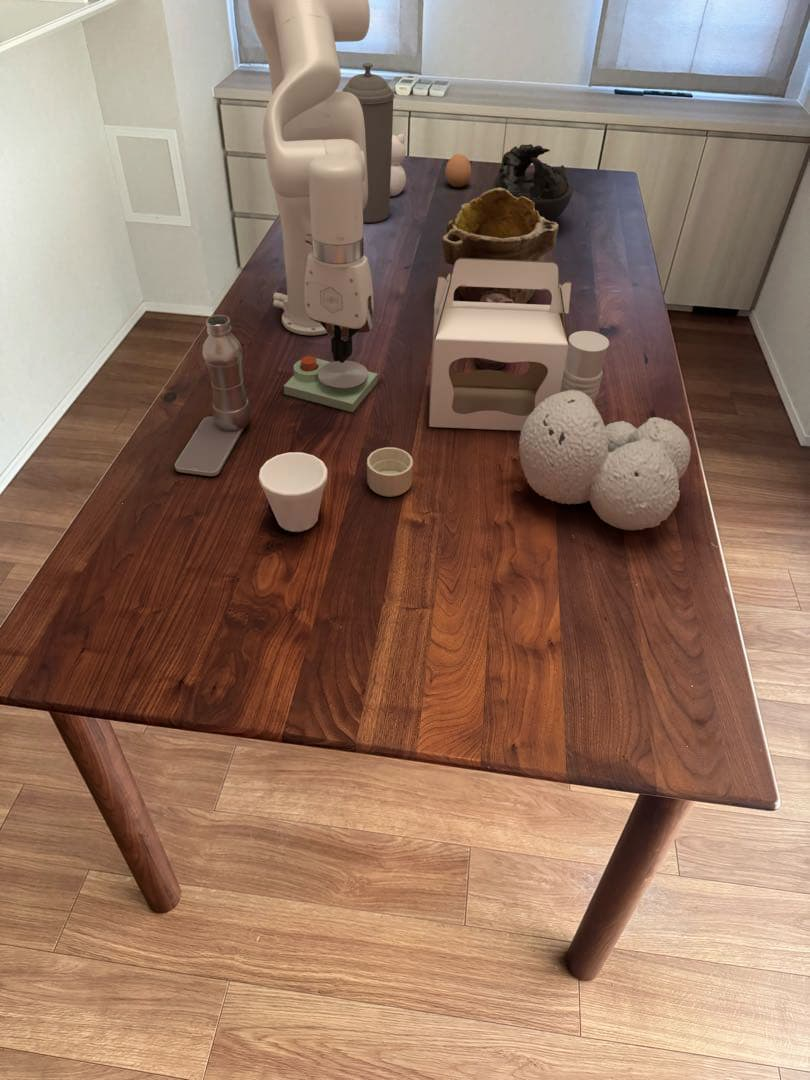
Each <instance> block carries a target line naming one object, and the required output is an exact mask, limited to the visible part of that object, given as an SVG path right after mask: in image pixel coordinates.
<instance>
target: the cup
mask: <svg viewBox="0 0 810 1080" xmlns="http://www.w3.org/2000/svg"><path fill="white" fill-rule="evenodd" d="M328 475H329V473H328V468H327V465H325V463H324V460H321V459H320V458H318V457H316V456H315V455H313V454H311V453H310V454H309V453H305V452H302V451H301V452H299V451H297V452H296V451H295V452H293V451H291V452H285V453H281V454H277V455H275V456H273V457H272V458H270V459H268V460H266V461H265V463H264V464H263V465H262V466H261V467H260V469H259V474H258V481H259V485H260V486H261V488H262V490H263V492H264V494H265V497H266V500H267V501H268V504H269V506H270V508H271V511H272V512H273V515H274V517H275V520H276V521H277V524H278V526H279V527H280V528H281V529H283V530H284V531H287V532H291V533H303V532H306V531H309V530H310V529H312V528H314V526H315V525H316V523H317V522H318V518H319V513H320V508H321V504H322V501H323V500H322V499H323V496H324V491H325V487H326V485H327V483H328Z"/></svg>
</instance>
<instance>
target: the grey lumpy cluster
mask: <svg viewBox="0 0 810 1080" xmlns="http://www.w3.org/2000/svg"><path fill="white" fill-rule="evenodd" d="M518 445H519V446H518V450H519V452H518V453H519V454H518V455H519V458H520V459H519V461H520V463H519V464H520V466H521V470H522V471H523V473H524V478H525V479H526V480H527V481H526V482H527V484H529V487H530V488H531V489H532V490H533V491H534V492H535V493H536V494H538V495H539V496H540V497H543V498H544V499H547V500H550V501H551V502H556V503H558V504H562V505H564V504H566V505H572V504H573V505H579V504H584V503H588V501H589V503H590V505H591V508H592V509H593V510H594V512H595V513H596V515H598V516H597V517H599V518H600V520H602V521H603V522H604V523H607V524H608V525H610V526H611V527H614V528H617V529H620V530H624V531H642V530H645V529H648V528H649V529H651V528H655V527H658V526H660V524H661V522H664V521H666V520H667V519H668V517H669V516H670V515H671V513H672V512H673V511H674V510H675V509H676V508H677V505H678V503H679V501H680V492H681V490H680V488H679V487H680V486H679V485H680V483H679V482H680V479H681V478H682V477H683V476H684V475H685V473H686V471H687V469H688V466H689V464H690V461H691V455H692V447H691V442H690V440H689V437H688V436H687V435H686V433H685V432H684V430H683V429H681V428H680V427H679V426H678V425H676V424H675V423H674V422H673V420H668V419H665V418H663V417H658V416H657V417H655V416H654V417H649V418H648V419H647V420H646V421H645V422H644V423H642V424H641V425H640V426H639V427H637V428H636V427H635V426H633V424H632V423H629V422H628V421H625V420H622V421H615V422H610V423H608V424H607V425H605V424H604V420H603V418H602V415H601V413H600V412H599V410H598V409H597V406H596V405H595V406H594V403H593V401H592V399H591V398H589V396H587V395H586V394H585V393H583V392H581V391H574V390H568V391H564V392H560V393H557V394H554V395H552V396H549V397H548V398H545V400H544V401H543V402H541V403H540V404H539V405H538V406H537V407H536V408H535V409H534V410H533V412H532V413H531V414H530V415H529V416H528V418H527V420H526V421H525V423H524V426H523V428H522V431H520V436H519V441H518Z"/></svg>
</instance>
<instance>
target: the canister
mask: <svg viewBox="0 0 810 1080" xmlns="http://www.w3.org/2000/svg"><path fill="white" fill-rule="evenodd" d="M373 66H374V64H373V63H371V62H364V63H362V67H363V68H364V69H365V71H364V73H360V74H355V75H354V76H352V77H351V78H349V81H348V82H347V83H346V84H345V86H344V87H343V88H342V90H341V92H349V93H352V94H353V95H355V96H356V97H357V98H358V100H359V102H360V104H361V107H362V111H363V116H364V125H365V140H366V158H367V177H368V200H367V205H366V207H365V208H364V210H363V223H367V224H368V223H378V222H383V221H384V220H386V219H387V218H389V216H390V206H391V205H390V202H391V196H390V181H391V156H392V135H393V125H394V122H393V121H394V120H393V119H394V98H395V94H394V90H393V89H392V88H391V87H390V85H389V84H388V83H387V81H386V80H385V78H383V77H382V76H381V75H378V74H374V73H371V68H373Z"/></svg>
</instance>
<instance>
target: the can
mask: <svg viewBox="0 0 810 1080" xmlns="http://www.w3.org/2000/svg"><path fill="white" fill-rule="evenodd" d="M480 302H489V303H513V304H514V302H513V300H512V297H511V296H510V295H509V294H508V293H505V292H502V291H489V292H486V293H485V294H484V295H483V297H482V298H481V300H480ZM506 363H507V362H499V361H494V360H489V359H483V358H474V364H475V365H476V366H477V367H478V368H480V370H498V371H500V370H501V369H502V368H504V366H505V365H506Z"/></svg>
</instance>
